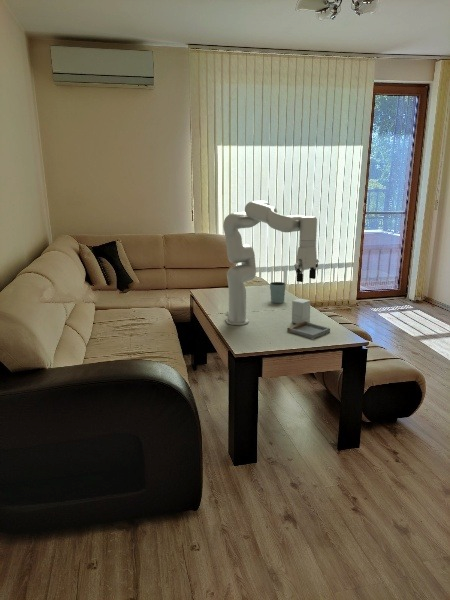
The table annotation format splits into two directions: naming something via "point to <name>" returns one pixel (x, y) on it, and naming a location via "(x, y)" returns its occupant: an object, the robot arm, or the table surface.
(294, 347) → the table surface
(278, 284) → the drinking glass
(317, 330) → the grey rubber tray
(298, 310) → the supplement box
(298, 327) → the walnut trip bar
